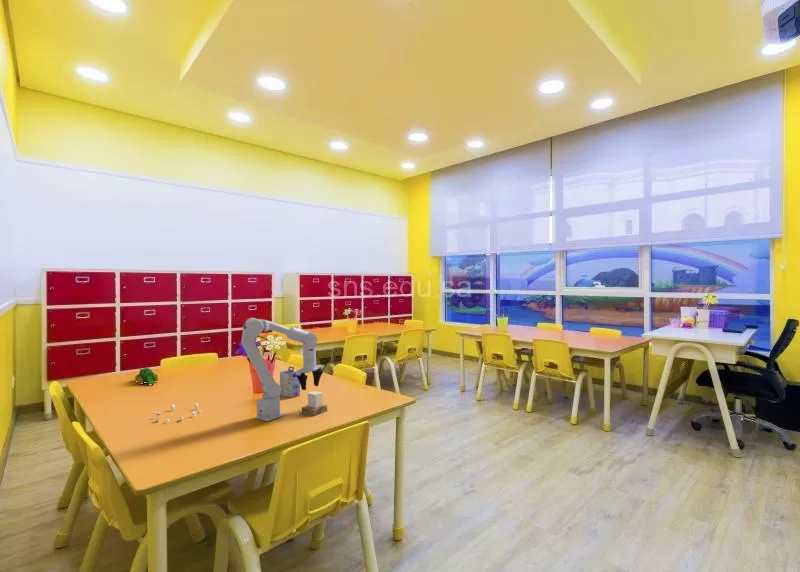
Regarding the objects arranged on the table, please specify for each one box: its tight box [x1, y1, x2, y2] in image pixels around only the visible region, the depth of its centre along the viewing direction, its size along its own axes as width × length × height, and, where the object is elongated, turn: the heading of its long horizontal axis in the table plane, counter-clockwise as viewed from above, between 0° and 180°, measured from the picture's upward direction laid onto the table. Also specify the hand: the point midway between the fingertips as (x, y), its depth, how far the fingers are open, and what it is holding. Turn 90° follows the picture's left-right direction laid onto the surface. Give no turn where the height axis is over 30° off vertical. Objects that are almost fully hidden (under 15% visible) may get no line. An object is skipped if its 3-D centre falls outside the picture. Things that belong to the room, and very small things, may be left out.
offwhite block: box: [307, 390, 324, 408], centre depth 177 cm, size 4×5×6 cm
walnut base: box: [301, 404, 328, 417], centre depth 177 cm, size 8×8×3 cm
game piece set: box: [150, 403, 202, 423], centre depth 176 cm, size 19×20×4 cm
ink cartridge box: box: [279, 366, 301, 398], centre depth 204 cm, size 10×6×14 cm, turn 58°
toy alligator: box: [134, 367, 159, 385], centre depth 239 cm, size 10×32×9 cm, turn 44°
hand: (310, 387), depth 181 cm, fingers open, 7 cm apart
